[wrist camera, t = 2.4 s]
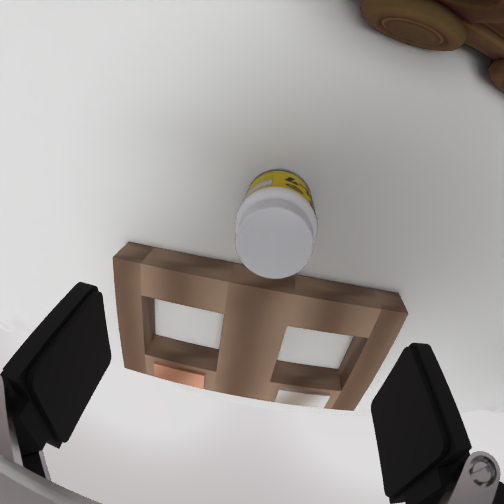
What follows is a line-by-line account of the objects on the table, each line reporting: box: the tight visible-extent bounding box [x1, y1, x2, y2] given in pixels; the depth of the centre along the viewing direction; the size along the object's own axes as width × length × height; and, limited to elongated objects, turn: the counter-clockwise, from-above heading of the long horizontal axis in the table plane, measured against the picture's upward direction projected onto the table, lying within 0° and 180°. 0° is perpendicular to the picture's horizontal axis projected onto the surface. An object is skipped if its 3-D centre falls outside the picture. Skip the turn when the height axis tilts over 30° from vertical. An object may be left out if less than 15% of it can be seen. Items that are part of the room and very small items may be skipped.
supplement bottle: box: [235, 169, 317, 279], centre depth 20 cm, size 5×5×8 cm
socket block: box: [113, 242, 408, 411], centre depth 28 cm, size 24×13×3 cm, turn 81°
